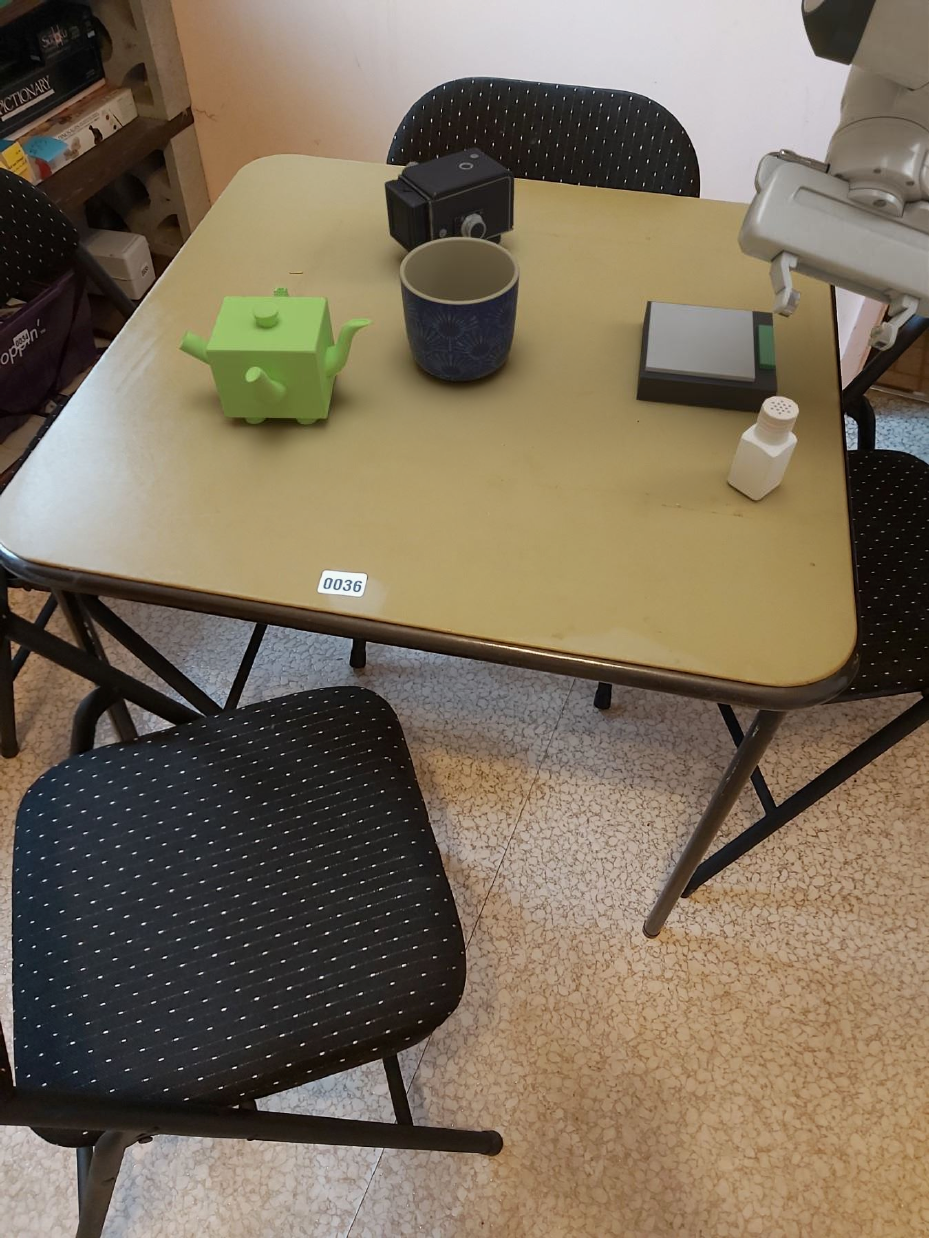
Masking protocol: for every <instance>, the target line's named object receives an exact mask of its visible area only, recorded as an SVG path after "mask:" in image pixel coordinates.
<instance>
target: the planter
mask: <svg viewBox="0 0 929 1238" xmlns="http://www.w3.org/2000/svg"><path fill="white" fill-rule="evenodd" d="M520 272H521V271H520V265H519V262H518V260H517V258H516V257H515V256H514V254H512V252H511V251H509V250H508V249H507V248H505V247H503V246H502V245H501V244H495V243H493V242H490V241H487V240H483V239H478V238H470V237H450V238H443V239H438V240H434V241H431V242H428V243H425V244H423V245H421V246H419V247H417V248H415V249H414V250H412V251H411V252H410V253H409V252H408V253H407V255H406V256H405V257H403V260H402V261H401V263H400V266H399V271H398V273H399V283H400V291H401V301H402V309H403V317H404V325H405V331H406V337H407V341H408V345H409V349H410V352H411V354H412V357H413V359H414V360H415V362H416V363H417V365H419V367H420V368H422V369H423V370H424V371H425V372H426V373H428V374H430V375H432V376H434V377H436V378H439V379H442V380H447V381H453V382H468V381H473V380H474V381H475V380H478V379H482V378H484V377H486V376H489V375H490V374H493V373H494V372H495V371H497V370H498V369H500V367H501V366H502V365H503V364H504V363H505V361H506V359H507V358H508V356H509V354H510V352H511V349H512V344H513V340H514V334H515V327H516V320H517V319H516V318H517V307H518V296H519V286H520V285H519V283H520V274H521V273H520Z"/></svg>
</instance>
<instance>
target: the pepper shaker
mask: <svg viewBox="0 0 929 1238" xmlns="http://www.w3.org/2000/svg"><path fill="white" fill-rule="evenodd" d="M799 413H800V410H799V406H798V404H797V403H796V402H795V401H794V400H793V399H790V398H788V397H785V396H777V395H776V396H773V397H771V398H768V399H766V400H765V401H764V403H763V404H762V407H761V410H760V413H758V416H757V419H756V423H754V424H752V426H750V427H748V429H747V430H745V431H744V432H743V433H742V435H741V437H740V439H739V443H738V446H737V449H736V452H735V455H734V458H733V461H732V464H731V466H730V470H729V473H728V476H727V482H728V484H729V485H730V486H732V487H733V488H735V489H736V490H737V491H739V492H741V493H742V494H744V495H745V496H747V497H748V498H750V499H751V500H754V501H760V500H761V499H762V498H764V497H765V496H766V495H768V494H769V493H770V492H772V491H773V490H774V489H775V488H777V487H778V486H779V485H780V484H781V482H782V479H783V477H784V474H785V472H786V469H787V467H788V465H789V462H790V460H791V457H792V455H793V452H794V449H795V447H796V446H797V443H798V438H797V437H796V435H795V434H794V433H793V432H792V431H793V428H794V426H795V424H796V421H797V418H798V416H799Z"/></svg>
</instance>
